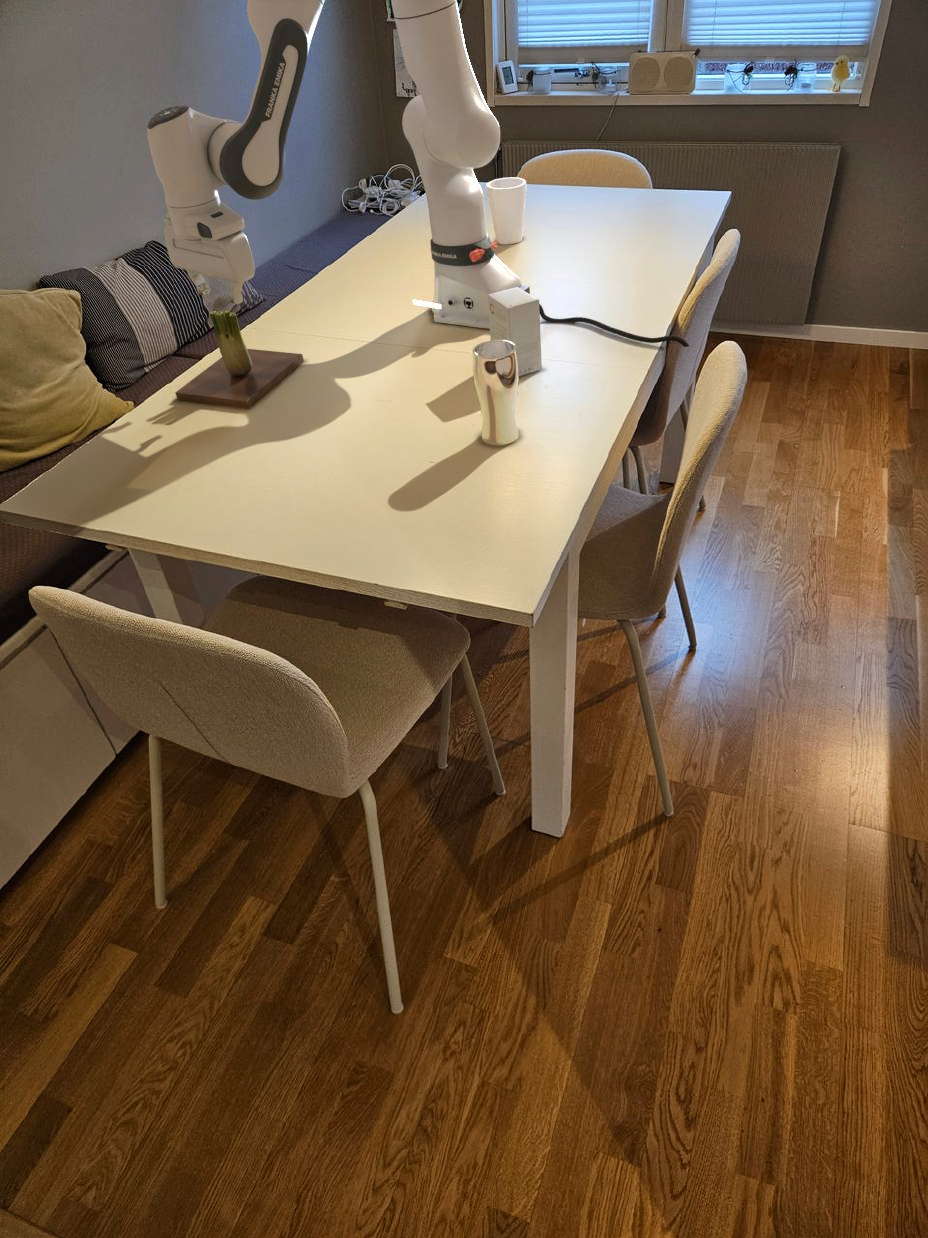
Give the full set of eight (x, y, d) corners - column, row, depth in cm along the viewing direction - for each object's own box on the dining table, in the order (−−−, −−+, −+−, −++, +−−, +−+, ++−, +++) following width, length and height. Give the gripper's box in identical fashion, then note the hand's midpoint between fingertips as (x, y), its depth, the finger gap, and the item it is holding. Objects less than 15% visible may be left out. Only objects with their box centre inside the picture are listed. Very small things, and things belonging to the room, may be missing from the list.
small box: (542, 369, 158) (540, 299, 150) (512, 379, 156) (508, 308, 148) (521, 354, 164) (517, 285, 155) (491, 363, 162) (486, 294, 154)
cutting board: (236, 354, 176) (234, 347, 175) (304, 360, 171) (302, 353, 170) (177, 399, 162) (174, 392, 162) (248, 408, 157) (246, 401, 156)
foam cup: (535, 235, 214) (533, 178, 206) (516, 247, 209) (513, 190, 200) (502, 232, 219) (498, 176, 210) (483, 244, 213) (479, 187, 205)
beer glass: (476, 428, 144) (469, 342, 134) (518, 423, 144) (513, 336, 134) (481, 449, 139) (473, 361, 129) (524, 444, 139) (519, 355, 129)
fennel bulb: (222, 372, 166) (204, 311, 158) (245, 363, 168) (228, 302, 160) (236, 381, 163) (218, 319, 155) (259, 372, 165) (242, 310, 157)
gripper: (147, 216, 151) (172, 294, 160) (220, 231, 140) (242, 314, 149) (176, 205, 154) (199, 282, 163) (249, 218, 144) (270, 301, 153)
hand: (220, 298), depth 156 cm, fingers open, 8 cm apart
